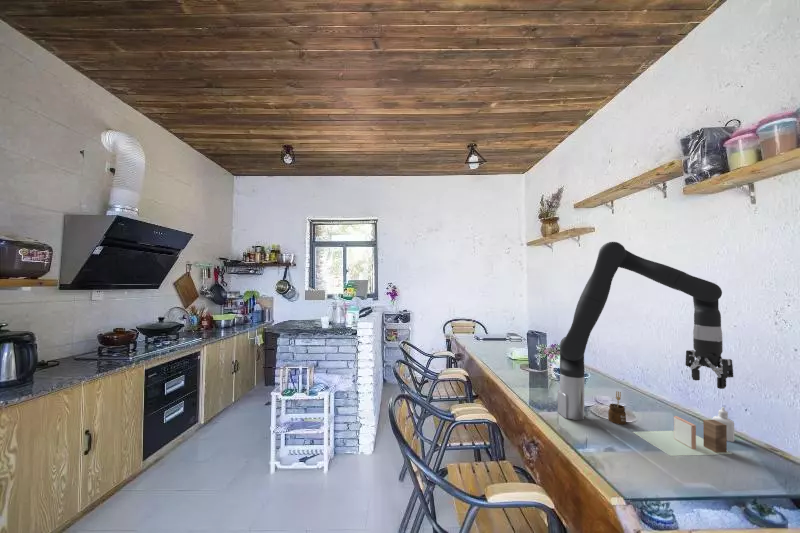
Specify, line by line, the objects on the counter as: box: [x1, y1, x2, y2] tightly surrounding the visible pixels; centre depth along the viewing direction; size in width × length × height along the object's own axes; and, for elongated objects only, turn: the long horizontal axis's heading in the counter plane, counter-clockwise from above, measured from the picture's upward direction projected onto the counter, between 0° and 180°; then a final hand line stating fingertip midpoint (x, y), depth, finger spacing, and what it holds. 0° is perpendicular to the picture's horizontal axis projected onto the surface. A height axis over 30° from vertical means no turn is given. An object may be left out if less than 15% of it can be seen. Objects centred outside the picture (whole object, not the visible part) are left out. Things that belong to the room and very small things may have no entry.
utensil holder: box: [607, 390, 627, 425], centre depth 132 cm, size 6×6×12 cm
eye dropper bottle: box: [711, 406, 735, 443], centre depth 119 cm, size 4×6×12 cm
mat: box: [632, 430, 733, 457], centre depth 116 cm, size 22×16×1 cm
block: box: [702, 419, 728, 453], centre depth 111 cm, size 4×4×9 cm
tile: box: [673, 415, 697, 449], centre depth 115 cm, size 1×7×8 cm, turn 4°
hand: (708, 384), depth 116 cm, fingers open, 8 cm apart
